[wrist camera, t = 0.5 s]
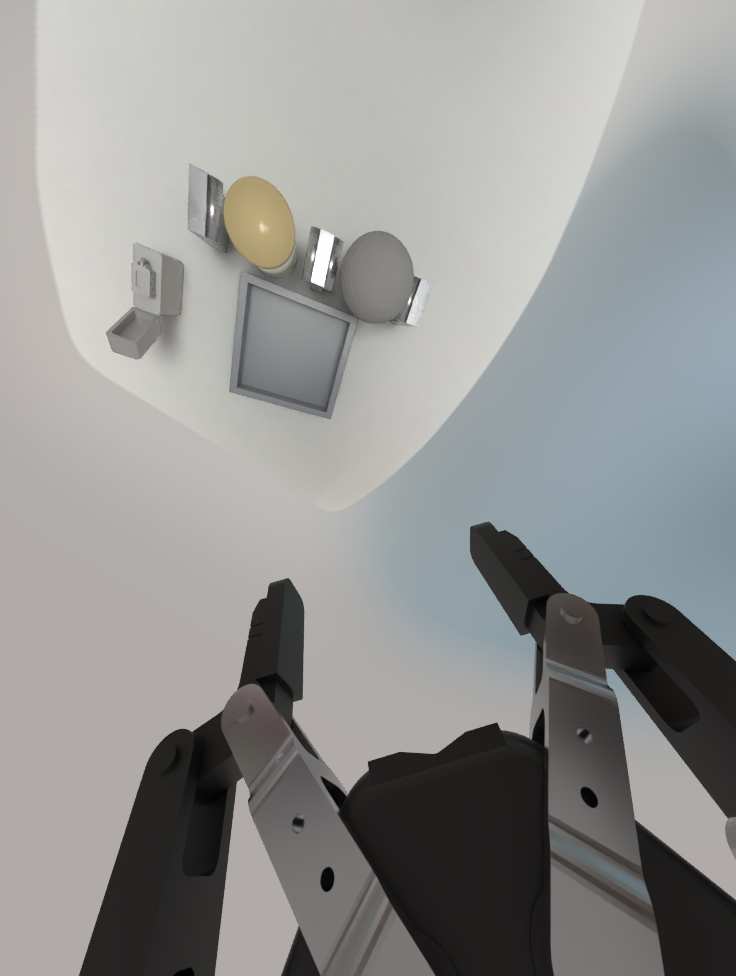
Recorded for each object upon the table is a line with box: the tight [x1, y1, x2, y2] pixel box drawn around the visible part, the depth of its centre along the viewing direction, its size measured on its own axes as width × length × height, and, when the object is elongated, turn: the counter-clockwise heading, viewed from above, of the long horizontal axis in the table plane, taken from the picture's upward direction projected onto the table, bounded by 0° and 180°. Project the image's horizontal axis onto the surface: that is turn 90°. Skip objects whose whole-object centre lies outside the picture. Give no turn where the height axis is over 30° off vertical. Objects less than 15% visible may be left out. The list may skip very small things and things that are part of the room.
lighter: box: [106, 243, 184, 359], centre depth 21 cm, size 7×2×8 cm, turn 159°
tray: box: [229, 271, 358, 419], centre depth 27 cm, size 10×10×2 cm
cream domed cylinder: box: [224, 176, 297, 279], centre depth 21 cm, size 4×4×8 cm
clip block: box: [188, 164, 432, 327], centre depth 23 cm, size 3×17×6 cm, turn 72°
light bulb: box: [340, 231, 414, 323], centre depth 22 cm, size 6×6×10 cm
